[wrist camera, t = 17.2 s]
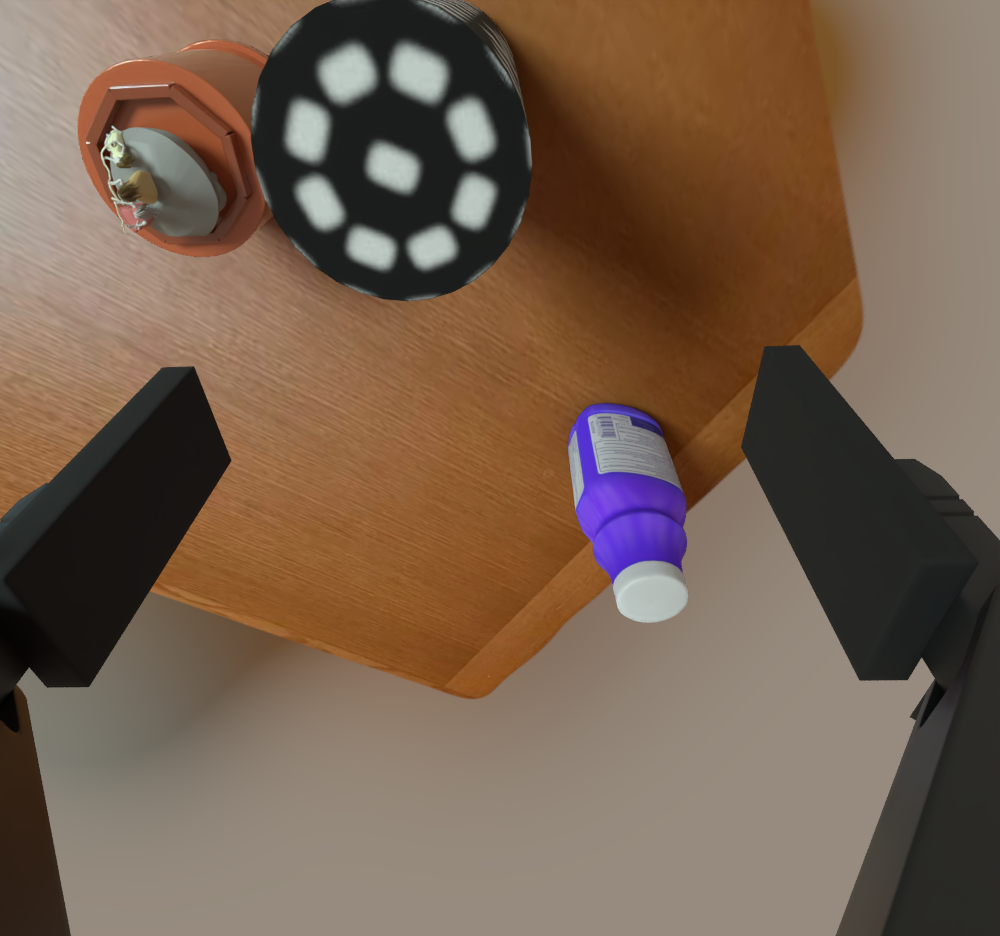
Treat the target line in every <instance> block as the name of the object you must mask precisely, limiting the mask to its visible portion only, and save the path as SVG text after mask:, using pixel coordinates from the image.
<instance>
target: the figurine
mask: <svg viewBox="0 0 1000 936" xmlns="http://www.w3.org/2000/svg"><path fill="white" fill-rule="evenodd" d="M112 128H113V129H114V130H112V131H111V132H110V134H109V135H108V134H106V136H107V137H106V140H105V142H104V144H105V146H104V148H103V149H102V151H101V159H102V161H103V165H104V166H105V167H106V169H107V170H108V174H109V180H108V184H109V188H110V190H111V192H112V193H113V195H114V196H115V198H116V199H115V198H113V197H111V199H112V200H113V201H114V204H115V206H116V209H117V213H118V216H119V218H120V219H121V220H122V227H123V230H124V233H125V234H126V235H128V234H127V233H126V232H125V229H124V226H123V224H124V222H125V223H126V224H125V225H127V226H128V228H130V230H132V231H133V232H138V231H139V230H142V229H143V228H146V227H148V226H150V227H152V228H153V229H155V230H157V231H159V232H160V233H163V234H165V235H168V236H173V237H182V236H206V235H207V234H209V233H210V232H211V231H212V230H213V228H214V226H215V224H216V222H217V218H218V214H219V212H220V211H221V210H222V209H223V208H224V207H225V205H226V201H227V197H226V193H225V191H224V190H223V188H222V187H221V185H220V184H219V183H218V181H217V175H216V174H215V173H214V172H210V171H209V169H208V167H207V166H206V164H205V163H204V162H203V160H202V159H201V158H200V157H199V156H198V155H197V154H196V153H195V151H194V150H193V149H192V148H191V147H190V146H189V145H188V144H187V143H185V142H184V141H183V140H182V139H180V138H179V137H177V136H176V135H174V134H172V133H170V132H168V131H165V130H161V129H154V128H145V127H134V128H129V129H126V130H124V131H122V132H121V131H119V130H117V129H116V128H115V127H114V126H112ZM106 148H107V150H108V151H111V154H110V157H107V156H106V157H103V152H104V150H105V149H106ZM105 159H108V160H110V167H111V172H110V170H109V169H108V167H107V165H106V164H105V161H104V160H105ZM111 173H112V178H113V181H111ZM110 181H111V182H110ZM111 185H116V188H117V195H118V197H119V198H120V199H121V200H119V198H118V197H117V196H116V194H115V193H114V191H113V190H112V188H111ZM117 204H122V205H125V204H126V206H123V207H120V208H118V207H117ZM119 213H120V214H119ZM120 215H121V216H120ZM121 217H122V218H121Z"/></svg>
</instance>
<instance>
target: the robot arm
mask: <svg viewBox="0 0 1000 936" xmlns="http://www.w3.org/2000/svg"><path fill="white" fill-rule="evenodd" d="M741 448H742V450H743V452H744V454H745V456H746V457H747V459H748V461H749V463H750V465H751V467H752V469H753V471H754V473H755V475H756V477H757V479H758V481H759V483H760V485H761V487H762V489H763V491H764V493H765V495H766V497H767V499H768V501H769V503H770V505H771V507H772V509H773V511H774V513H775V515H776V517H777V518H778V521H779V523H780V524H781V527H782V528H783V530H784V532H785V534H786V536H787V538H788V540H789V542H790V544H791V546H792V548H793V550H794V552H795V554H796V556H797V558H798V560H799V562H800V564H801V566H802V568H803V570H804V572H805V574H806V576H807V578H808V580H809V582H810V584H811V585H812V588H813V590H814V592H815V594H816V596H817V598H818V599H819V601H820V603H821V605H822V607H823V609H824V611H825V613H826V615H827V617H828V619H829V621H830V623H831V625H832V627H833V629H834V631H835V633H836V635H837V637H838V639H839V641H840V643H841V645H842V647H843V649H844V651H845V653H846V655H847V656H848V659H849V661H850V663H851V665H852V666H853V668H854V670H855V672H856V674H857V676H858V678H859V680H908V679H909V677H910V675H911V674H912V672H913V670H914V669H915V667H916V666H917V664H918V662H919V661H920V659H921V657H922V658H923V660H924V662H925V663H926V665H927V666H928V668H929V669H930V671H931V673H932V674H933V676H934V678H935V679H934V681H933V683H932V684H931V686H930V687H929V689H928V690H927V692H926V693H925V695H924V696H923V698H922V699H921V701H920V702H919V704H918V705H917V707H916V708H915V710H914V711H913V713H912V714H911V716H910V717H911V718H913V719H915V720H916V722H915V725H914V727H913V730H912V733H911V736H910V738H909V741H908V744H907V746H906V749H905V751H904V754H903V757H902V759H901V762H900V765H899V767H898V770H897V773H896V776H895V778H894V781H893V784H892V786H891V789H890V792H889V794H888V797H887V800H886V802H885V805H884V808H883V810H882V813H881V816H880V818H879V821H878V824H877V826H876V829H875V832H874V835H873V838H872V840H871V843H870V845H869V848H868V851H867V853H866V856H865V859H864V861H863V864H862V867H861V869H860V872H859V875H858V877H857V880H856V883H855V885H854V888H853V891H852V894H851V896H850V899H849V902H848V904H847V907H846V910H845V912H844V915H843V918H842V921H841V923H840V926H839V928H838V931H837V934H836V936H1000V540H999V539H998V538H997V537H996V536H995V535H994V533H993V532H992V531H991V530H990V529H989V528H988V527H987V526H986V525H985V524H984V522H983V521H982V520H981V519H980V518H979V517H978V516H974V511H973V510H972V509H971V508H970V507H969V506H968V505H967V504H966V502H965V501H964V500H963V499H959V495H958V494H957V492H956V491H955V490H954V489H953V488H952V487H951V486H950V485H949V484H948V482H947V481H946V480H945V479H944V478H943V477H942V476H941V475H939V474H938V473H936V472H935V471H933V470H931V469H930V468H928V467H927V466H925V465H923V464H922V463H920V462H919V461H917V460H915V459H894V458H893V457H892V456H891V455H890V454H889V452H888V451H887V450H886V449H885V448H884V446H883V445H882V444H881V443H880V441H879V440H878V439H877V438H876V437H875V435H874V434H873V433H872V432H871V431H870V430H869V428H868V427H867V426H866V425H865V423H864V422H863V421H862V420H861V419H860V417H859V416H858V415H857V414H856V413H855V412H854V410H853V409H852V408H851V407H850V406H849V404H848V403H847V402H846V401H845V399H844V398H843V397H842V396H841V395H840V393H839V392H838V391H837V390H836V389H835V387H834V386H833V385H832V384H831V383H830V381H829V380H828V379H827V378H826V377H825V375H824V374H823V373H822V372H821V370H820V369H819V368H818V367H817V366H816V364H815V363H814V362H813V361H812V360H811V358H810V357H809V356H808V355H807V354H806V352H805V351H804V350H803V349H802V348H801V346H800V345H794V346H766V347H764V351H763V356H762V360H761V364H760V368H759V373H758V377H757V381H756V386H755V390H754V394H753V398H752V403H751V407H750V411H749V416H748V420H747V424H746V428H745V433H744V437H743V441H742V446H741ZM230 462H231V458H230V456H229V453H228V451H227V448H226V446H225V443H224V441H223V438H222V436H221V433H220V431H219V428H218V426H217V423H216V421H215V418H214V416H213V413H212V411H211V408H210V405H209V403H208V400H207V398H206V395H205V393H204V390H203V388H202V385H201V383H200V380H199V378H198V375H197V373H196V370H195V368H194V367H165V368H161V369H160V370H159V371H158V373H157V374H156V375H155V376H154V377H153V378H152V379H151V380H150V381H149V382H148V383H147V384H146V385H145V386H144V387H143V388H142V389H141V390H140V391H139V392H138V393H137V394H136V395H135V396H134V397H133V398H132V399H131V400H130V401H129V402H128V403H127V404H126V405H125V406H124V407H123V408H122V409H121V410H120V411H119V412H118V413H117V414H116V415H115V416H114V417H113V418H112V419H111V420H110V421H109V422H108V423H107V424H106V425H105V426H104V427H103V428H102V430H101V431H100V432H99V433H98V434H97V435H96V436H95V437H94V438H93V439H92V440H91V441H90V442H89V443H88V444H87V445H86V446H85V447H84V448H83V449H82V450H81V451H80V452H79V453H78V454H77V455H76V456H75V457H74V458H73V459H72V460H71V461H70V462H69V463H68V464H67V465H66V466H65V467H64V468H63V469H62V470H61V471H60V472H59V473H58V474H57V475H56V476H55V477H54V478H53V479H52V480H51V481H50V482H49V483H46V484H44V485H42V486H41V487H39V488H38V489H36V490H35V491H33V492H31V493H30V494H28V495H27V496H25V497H24V498H22V499H20V500H19V501H18V502H17V503H16V504H15V505H14V506H13V507H12V508H11V509H10V510H9V511H8V512H7V513H6V514H5V515H4V516H3V517H2V518H1V519H0V520H1V522H0V936H71V935H70V929H69V924H68V918H67V913H66V908H65V902H64V897H63V892H62V887H61V881H60V876H59V870H58V865H57V860H56V854H55V849H54V844H53V838H52V833H51V828H50V822H49V817H48V811H47V806H46V801H45V796H44V790H43V785H42V780H41V774H40V769H39V764H38V758H37V753H36V747H35V742H34V737H33V732H32V726H31V721H30V715H29V710H28V705H27V699H26V697H25V695H24V694H23V692H22V691H21V689H20V688H19V687H18V686H17V685H16V684H17V683H18V681H19V680H20V679H21V677H22V676H23V675H24V673H25V672H26V671H27V669H28V668H29V667H30V669H31V670H32V671H33V672H34V673H35V674H36V676H38V678H39V679H40V680H41V681H42V682H43V684H44V685H45V686H46V687H89V686H90V685H91V683H92V681H93V680H94V678H95V677H96V675H97V674H98V672H99V670H100V669H101V667H102V666H103V664H104V662H105V661H106V659H107V658H108V656H109V654H110V653H111V651H112V650H113V648H114V647H115V645H116V643H117V642H118V640H119V639H120V637H121V635H122V634H123V632H124V631H125V629H126V628H127V626H128V624H129V623H130V621H131V619H132V618H133V616H134V615H135V613H136V611H137V610H138V608H139V607H140V605H141V604H142V602H143V600H144V599H145V597H146V596H147V594H148V593H149V591H150V589H151V588H152V586H153V585H154V583H155V581H156V580H157V578H158V577H159V575H160V573H161V572H162V570H163V569H164V567H165V566H166V564H167V562H168V561H169V559H170V558H171V556H172V554H173V553H174V551H175V550H176V548H177V546H178V545H179V543H180V542H181V540H182V539H183V537H184V535H185V534H186V532H187V531H188V529H189V527H190V526H191V524H192V523H193V521H194V519H195V518H196V516H197V515H198V513H199V512H200V510H201V508H202V507H203V505H204V504H205V502H206V500H207V499H208V497H209V496H210V494H211V492H212V491H213V489H214V488H215V486H216V484H217V483H218V481H219V480H220V478H221V477H222V475H223V473H224V472H225V470H226V469H227V467H228V465H229V464H230Z"/></svg>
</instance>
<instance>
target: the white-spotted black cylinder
mask: <svg viewBox="0 0 1000 936" xmlns="http://www.w3.org/2000/svg"><path fill="white" fill-rule="evenodd" d="M251 145H252V152H253V159H254V166H255V171H256V174H257V177H258V180H259V183H260V186H261V189H262V192H263V195H264V198H265V200H266V202H267V204H268V206H269V208H270V210H271V212H272V214H273V216H274V218H275V220H276V221H277V223H278V225H279V226H280V228H281V229H282V230H283V232H284V233H285V234H286V236H287V237H288V238H289V240H290V241H291V242H292V244H293V245H294V247H295V248H296V249H297V250H298V251H299V252H300V253H302V254H303V255H304V256H305V257H306V258H307V259H308V260H309V261H310V262H311V263H312V264H313V265H314V266H315V267H316V268H318V269H319V270H321V271H322V272H324V273H325V274H326V275H328V276H329V277H331V278H332V279H334V280H335V281H336V282H338V283H341V284H343V285H345V286H347V287H349V288H351V289H353V290H355V291H358V292H360V293H363V294H367V295H371V296H374V297H378V298H382V299H389V300H400V301H413V300H423V299H432V298H435V297H438V296H441V295H445V294H448V293H451V292H454V291H456V290H458V289H460V288H461V287H463V286H465V285H467V284H469V283H471V282H472V281H474V280H476V279H477V278H478V277H479V276H480V275H482V274H483V273H484V272H485V271H486V270H487V269H489V268H490V267H491V266H492V265H493V264H494V263H495V262H496V261H497V259H498V258H499V257H500V256H501V254H502V253H503V252H504V251H505V249H506V248H507V247H508V246H509V244H510V242H511V240H512V238H513V236H514V234H515V232H516V230H517V228H518V227H519V225H520V223H521V220H522V217H523V213H524V210H525V207H526V203H527V200H528V197H529V190H530V181H531V172H532V158H531V144H530V134H529V129H528V124H527V119H526V114H525V109H524V104H523V99H522V94H521V89H520V84H519V79H518V74H517V70H516V66H515V62H514V58H513V54H512V52H511V50H510V47H509V45H508V43H507V41H506V39H505V37H504V36H503V34H502V33H501V31H500V30H499V28H498V27H497V25H496V24H495V23H494V22H493V21H492V20H491V19H490V18H489V17H488V16H487V15H486V14H485V13H484V12H483V11H481V10H480V9H478V8H476V7H475V6H473V5H472V4H470V3H468V2H465V1H463V0H332V1H330V2H327V3H325V4H323V5H320V6H318V7H316V8H314V9H313V10H311V11H310V12H309V13H308V14H306V15H305V16H304V17H302V18H301V19H300V20H298V21H297V22H296V23H294V24H293V25H292V26H291V27H290V28H289V29H288V31H287V32H286V33H285V34H284V36H283V37H282V38H281V39H280V41H279V42H278V43H277V44H276V46H275V47H274V48H273V49H272V51H271V53H270V55H269V58H268V60H267V62H266V64H265V66H264V68H263V70H262V72H261V74H260V76H259V79H258V84H257V88H256V92H255V96H254V101H253V105H252V116H251Z"/></svg>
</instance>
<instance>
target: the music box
mask: <svg viewBox="0 0 1000 936" xmlns="http://www.w3.org/2000/svg"><path fill="white" fill-rule="evenodd" d="M268 58H269V57H268V56H267V55H265V54H264V53H262V52H260V51H259V50H257V49H255V48H253V47H251V46H248V45H246V44H243V43H240V42H236V41H231V40H225V39H212V40H205V41H199V42H196V43H193V44H190V45H188V46H186V47H184V48H182V49H180V50H179V51H178V52H175V53H169V54H163V55H156V56H150V57H144V58H138V59H132V60H126V61H123V62H120V63H117V64H114V65H112V66H111V67H109V68H107V69H105V70H104V71H103V72H101V73H100V74H99V75H98V76H97V77H96V78H95V79H94V80H93V81H92V83H91V84H90V85H89V87H88V89H87V90H86V92H85V94H84V96H83V99H82V102H81V105H80V110H79V116H78V139H79V146H80V150H81V154H82V158H83V161H84V164H85V167H86V169H87V172H88V174H89V176H90V178H91V180H92V182H93V184H94V186H95V188H96V189H97V191H98V193H99V194H100V196H101V197H102V198H103V200H104V201H105V203H106V204H107V205H108V207H109V208H110V209H111V210H112V211H113V212H114V213H115V214H116V216H117V217H118V218H119V216H118V213H117V209H116V206H115V204H114V201H113V200H112V199H111V197H113V198H115V196H114V195H113V193H112V192H111V190H110V188H109V184H108V180H109V174H108V170H107V169H106V167H105V166H104V165H103V161H102V159H101V151H102V149H103V148H104V146H105V144H104V142H105V140H106V137H107V136H106V134H108V135H109V134H110V132H111V131H112V130H114V129H113V128H112V126H114V127H115V128H116V129H117V130H119V131H121V132H122V131H124V130H126V129H129V128H134V127H145V128H154V129H161V130H165V131H168V132H170V133H172V134H174V135H176V136H177V137H179V138H180V139H182V140H183V141H184V142H185V143H187V144H188V145H189V146H190V147H191V148H192V149H193V150H194V151H195V153H196V154H197V155H198V156H199V157H200V158H201V159H202V160H203V162H204V163H205V164H206V166H207V167H208V169H209V171H210V172H214V173H215V174H216V175H217V181H218V183H219V184H220V185H221V187H222V188H223V190H224V191H225V193H226V197H227V201H226V205H225V207H224V208H223V209H222V210H221V211H220V212H219V214H218V218H217V222H216V224H215V226H214V228H213V230H212V231H211V232H210V233H209V234H207V235H206V236H182V237H173V236H168V235H165V234H163V233H160V232H159V231H157V230H155V229H153V228H152V227H150V226H148V227H146V228H143V229H142V230H139V231H138V232H136V233H137V234H138V235H140V236H141V237H143V238H144V239H146V240H148V241H149V242H151V243H153V244H155V245H157V246H159V247H161V248H163V249H166V250H168V251H171V252H174V253H178V254H182V255H187V256H194V257H210V256H217V255H221V254H225V253H228V252H230V251H232V250H234V249H236V248H238V247H239V246H241V245H242V244H244V243H245V242H246V241H247V240H248V239H249V238H250V237H251V236H252V235H253V234H254V233H255V232H256V231H258V230H259V229H260V228H261V227H262V226H263V225H264V224H265V223H266V222H267V221H268V220H269V219H270V218H271V217H272V216H273V214H272V212H271V210H270V208H269V206H268V204H267V202H266V200H265V198H264V195H263V192H262V189H261V186H260V183H259V180H258V177H257V174H256V171H255V166H254V159H253V152H252V145H251V116H252V105H253V101H254V96H255V92H256V88H257V84H258V79H259V76H260V74H261V72H262V70H263V68H264V66H265V64H266V62H267V60H268ZM110 154H111V151H108V150H107V148H106V149H105V150H104V152H103V157H106V156H107V157H110ZM104 161H105V164H106V165H107V167H108V169H109V170H110V172H111V167H110V160H108V159H105V160H104ZM111 181H113V178H112V173H111ZM111 181H110V182H111ZM111 188H112V190H113V191H114V193H115V194H116V196H117V197H118V195H117V188H116V185H111ZM118 198H119V197H118ZM115 199H116V198H115ZM119 200H121V199H120V198H119ZM123 206H126V204H125V205H122V204H117V207H118V208H120V207H123ZM119 214H120V213H119ZM120 216H121V215H120ZM121 218H122V217H121ZM119 219H120V218H119ZM120 220H121V219H120ZM121 221H122V220H121ZM124 223H125V222H124ZM125 224H126V223H125Z"/></svg>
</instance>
